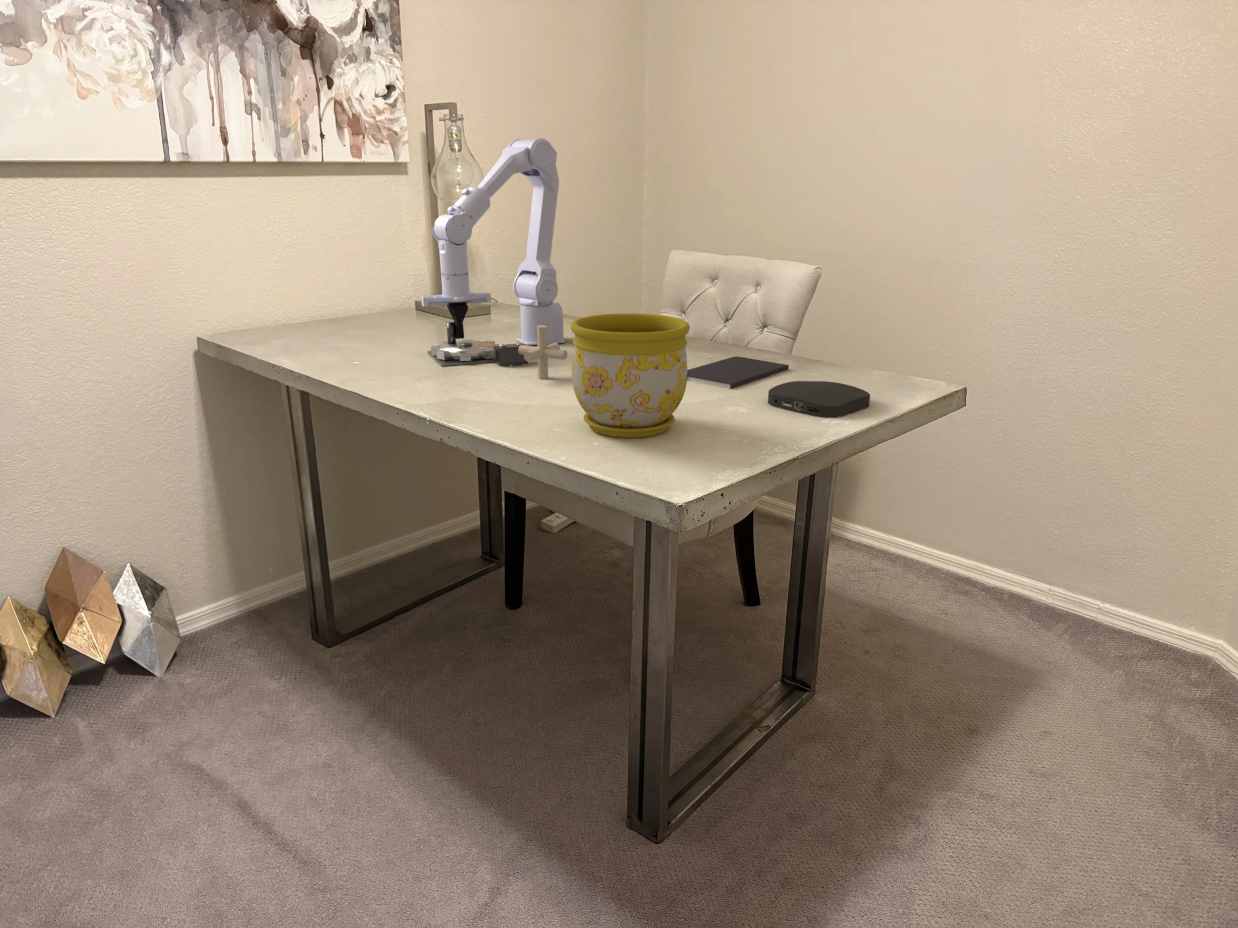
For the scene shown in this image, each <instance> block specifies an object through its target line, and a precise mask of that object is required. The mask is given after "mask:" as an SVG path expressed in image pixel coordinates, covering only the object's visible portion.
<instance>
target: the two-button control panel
mask: <svg viewBox="0 0 1238 928" xmlns="http://www.w3.org/2000/svg"><path fill="white" fill-rule="evenodd" d="M520 345H524V346H527V345H526V344H524V343H520V342H516V343H509V344H507V343H506V344H505V343H500V345H495V349H496V362H495V364H496V365H497V364H498V365H499V366H498V365H497V366H498V367H500V366H505V367H511V366H510V365H516V366H523V365H522V364H528V365H529V361H526V360H525V359H524V355H522V354H519V352H518V348H519V346H520Z"/></svg>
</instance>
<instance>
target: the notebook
mask: <svg viewBox="0 0 1238 928" xmlns="http://www.w3.org/2000/svg"><path fill="white" fill-rule="evenodd" d="M786 370H787V371H789V364H784V363H779V362H775V361H773V362H772V361H767V360H761V359H755V358H751V357H750V358H749V357H744V356H743V357H742V356H731V357H728V358H724V359H721V360H718V361H714V362H710V363H707V364H704V365H700V366H696V367H693V368H690V369H689V368H688V369H687V382H688V381H689V382H694V383H697V384H698V383H699V384H702V385H709V386H714V387H719V388H725V389H729V390H732V389H736V388H739V387H741V386H745V385H747V384H751V383H753V382H757V381H760V380H762V379H765V378H768V377H771V375H772V376H775V375H777V373H778V374H780V372H781V373H782V372H783V371H784V372H785V371H786ZM784 372H783V373H784Z"/></svg>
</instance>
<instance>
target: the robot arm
mask: <svg viewBox="0 0 1238 928" xmlns="http://www.w3.org/2000/svg"><path fill="white" fill-rule="evenodd" d="M557 156H558V153H557V151H556V149H555V148H554V147H553V145H552V144H551V142H550V141H548V140H547V139H545V138H537V139H533V138H532V139H519V138H517V139H514V140H512V141H511V142H510V143H509V144H508V146H506V147H505V148H504V149H503V150H502V153H501V155H500V157H499V158H498V160H497V161H496V162H495V164H494V165H493V166H492V167H491V169H490V170H489V171H488V172H487V174H486V175H485V176H484V178H483V179H482V180H481V182H480V183H479V184H478V185H477V187H476V186H471V187H468V188H464V189H462V191H461V192H460V193H461V196H460V197H459V198H458V199H457V200H456V201H455V203H454V204H453V205H452V206H449V207H448V208H447V209H446V210H447V214H446V213H445V214H441V215H440V216H438V217H437V218H436V220H435V221H434V225H433V227H432V228H431V233H432V236H433V237H434V238H435V240H436V242H437V243H438V244H437V245H438V249H439V250H438V251H439V252H438V253H439V265H440V275H441V279H440V281H441V291H442V292H441V293H442V294H434V295H425V296H423V295H422V296H421V297H420V298H421V306H422V307H423V308H427V307H434V306H436V307H437V306H446V308H447V310H448V312H449V313H450V315H451V317H452V320H453V322H455V331H456V340H460V339H462V340H464V339H465V330H464V321H465V320H464V319H465V317H466V315H467V312H468V310H469V305H468V304H478V303H479V304H480V303H486V304H487V303H489V304H491V303H492V294H491V292H488V291H487V292H470V276H469V275H470V273H469V263H468V261H469V259H468V243H467V241H469V240H470V239H471V237H472V234H473V228H474V226H475V225H476V224H477V223H478V221H480V219H481V218H482V217H483V216H484V215H485V214H486V213H487V211H488V210H489V209H490V208H491V198H492V197H493V196H494V195H495V194H496V193H497V192H498V191H499V190H500V189H501V188H502V187H503V186H504V185H505V184H506V183H507V182H508V181H509V180H510V179H511V178H512V177H513V176H514V175H515V174H521V175H522V176H523V177H525V178H526V179H527V181H528V182H529V183H530V184H531V186H532V189H533V190H532V197H531V206H530V208H531V209H530V216H529V224H528V225H529V226H528V234H527V235H528V236H527V245H526V254H525V259H524V260H523V261H522V262H521V263H520V264H519V266H518V270H517V274H516V277H515V278H514V281H513V283H512V285H513V286H512V288H513V293H514V294H515V296H516V297H517V298H518V302H519V304H520V306H519V307H520V308H519V309H520V310H519V311H520V336H521V337H515V341H517V342H518V343H524V344H526V345H527V346H538V337H537V326H540V325H544V326H547V345H550V344H553V343H558V344H564V343H565V340H564V313H563V308H562V306H561V304H560V303H559V302H554V301H555V300H556V298H557V296H558V291H559V285H558V282H557V272H558V271H557V270H556V268H555V267H554V266H553V264H552V263H551V255H552V249H553V248H552V247H553V238H554V231H555V223H556V221H555V220H556V212H557V206H558V205H557V202H558V196H559V195H558V194H559V185H560V178H559V173H558V170H557Z"/></svg>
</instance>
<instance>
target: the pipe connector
mask: <svg viewBox="0 0 1238 928" xmlns="http://www.w3.org/2000/svg"><path fill="white" fill-rule="evenodd" d="M537 337H538V345H537V346H533V345H529V346H524V345H520V346H519V348H518V352H519V354H522V355H524V359H525V360H526V361H528V362H531V361H534V360H537V365H538V368H537V372H538V375H537V376H538V379H540V380H546V379H548V378H549V370H548V369H549V366H548V365H549V364H548V363H549V362H548V360H549V359H556V360H565V361H566V359H568V351H567V350H564V349H561V346H560V343H553V344H547V326H544V325H540V326H537Z"/></svg>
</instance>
